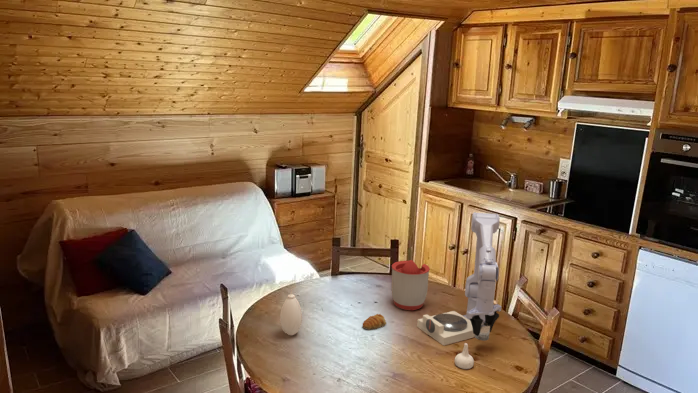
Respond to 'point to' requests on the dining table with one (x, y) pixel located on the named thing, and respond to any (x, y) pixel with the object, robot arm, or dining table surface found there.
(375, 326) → the pastry
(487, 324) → the cylinder
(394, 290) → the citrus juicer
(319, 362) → the dining table surface
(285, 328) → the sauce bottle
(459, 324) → the pan
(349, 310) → the dining table surface
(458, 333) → the base
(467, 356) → the garlic bulb
